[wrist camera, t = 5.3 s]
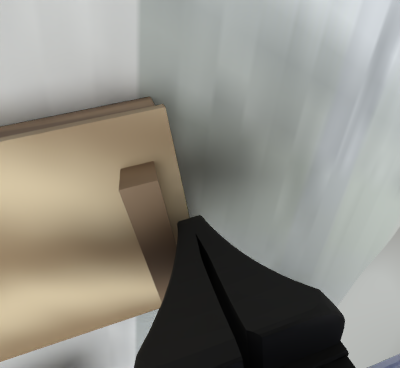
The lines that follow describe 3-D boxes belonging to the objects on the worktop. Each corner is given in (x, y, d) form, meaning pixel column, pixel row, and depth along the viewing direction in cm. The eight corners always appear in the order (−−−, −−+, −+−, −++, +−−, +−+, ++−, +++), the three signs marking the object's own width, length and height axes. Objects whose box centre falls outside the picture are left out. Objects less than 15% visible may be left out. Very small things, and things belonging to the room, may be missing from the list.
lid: (202, 282, 17) (214, 320, 14) (-23, 357, 15) (-53, 416, 12) (163, 103, 10) (172, 117, 8) (-241, 187, 8) (-389, 239, 6)
